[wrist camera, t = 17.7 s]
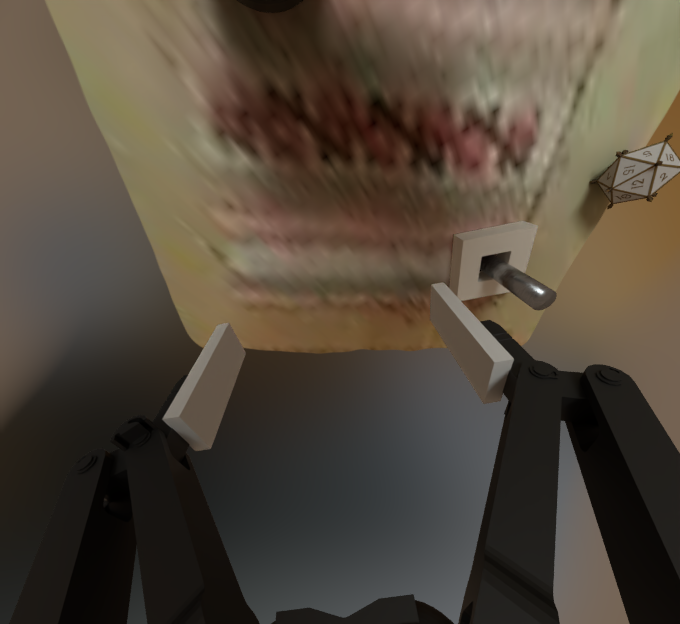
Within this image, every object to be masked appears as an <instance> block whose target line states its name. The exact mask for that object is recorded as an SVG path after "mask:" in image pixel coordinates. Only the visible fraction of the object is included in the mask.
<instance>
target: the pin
mask: <svg viewBox="0 0 680 624" xmlns="http://www.w3.org/2000/svg"><path fill="white" fill-rule="evenodd" d="M480 270H482V271H483V272H484V273H486V274H487V275H488V276H490V277H491V278H493V279H494V280H495V281H497V282H498V283H499V284H501V285H502V286H503V287H505V288H506V289H507V290H509V291H510V292H511V293H513V294H514V295H515V296H517V297H518V298H520V299H521V300H522V301H524V302H525V303H526V304H528V305H529V306H530V307H532V308H533V309H535V310H543V309H545V308H547V307H549V306H550V305H551V304H552V303H553V302H554V301H555V299H556V292H555V291H553V290H552V289H550V288H548V287H547V286H545V285H543V284H542V283H540V282H538V281H536V280H535V279H533V278H531V277H530V276H528V275H526V274H525V273H523V272H521V271H520V270H518V269H516V268H515V267H513V266H511V265H510V264H508V263H506V262H505V261H503V260H501V259H500V258H498V257H496V256H495V255H493V254H492V255H487V256H482V258H481V265H480Z"/></svg>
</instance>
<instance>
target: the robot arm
mask: <svg viewBox="0 0 680 624" xmlns="http://www.w3.org/2000/svg"><path fill="white" fill-rule="evenodd" d="M238 1H239V2H241V3H242V4H244V5H246V6H248V7H250V8H252V9H255V10H258V11H262V12H270V13H274V12H281V11H285V10H288V9H290V8H292V7H294V6H296V5H298V4H299V3H300V2H302V1H303V0H238ZM430 321H431V322H432V324H433V325H434V327H435V328H436V330H437V331H438V333H439V335H440V336H441V338H442V339H443V341H444V342H445V344H446V346H447V347H448V349H449V350H450V352H451V353H452V355H453V356H454V358H455V360H456V361H457V363H458V364H459V366H460V368H461V369H462V371H463V372H464V374H465V375H466V377H467V379H468V380H469V382H470V383H471V385H472V386H473V388H474V390H475V391H476V393H477V394H478V396H479V397H480V399H481V400H482V402H483V404H486V403H492V402H497V401H501V398H502V395H503V393H504V395H505V396H506V397H507V398H508V400H509V401H508V405H507V407H506V410H505V413H504V414H505V418H504V423H503V427H502V432H501V437H500V441H499V446H498V450H497V455H496V459H495V464H494V469H493V473H492V478H491V482H490V487H489V492H488V497H487V501H486V505H485V510H484V515H483V519H482V524H481V528H480V534H479V538H478V542H477V547H476V552H475V556H474V561H473V565H472V570H471V574H470V577H469V581H468V584H467V588H466V592H465V596H464V600H463V605H462V609H461V613H460V618H459V623H458V624H560V623H559V616H558V611H557V609H556V606H555V604H554V599H553V579H554V557H555V534H556V513H557V511H556V510H557V490H558V468H559V467H558V466H559V444H560V422H561V421H565V423H566V425H567V429H568V432H569V435H570V438H571V441H572V445H573V448H574V451H575V454H576V457H577V460H578V463H579V466H580V470H581V473H582V476H583V479H584V482H585V485H586V489H587V492H588V495H589V498H590V501H591V504H592V507H593V510H594V514H595V517H596V520H597V523H598V526H599V529H600V532H601V536H602V538H603V542H604V545H605V548H606V551H607V554H608V557H609V561H610V564H611V567H612V570H613V573H614V576H615V579H616V582H617V586H618V589H619V592H620V595H621V598H622V601H623V604H624V607H625V611H626V614H627V617H628V620H629V623H630V624H680V453H679V452H678V450H677V448H676V447H675V445H674V444H673V442H672V441H671V439H670V437H669V436H668V435H667V433H666V431H665V430H664V428H663V426H662V425H661V423H660V421H659V420H658V418H657V417H656V415H655V414H654V412H653V410H652V409H651V407H650V406H649V404H648V402H647V401H646V399H645V398H644V396H643V394H642V393H641V391H640V390H639V388H638V386H637V385H636V383H635V382H634V381H633V380H632V378H631V377H630V376H629V375H627V374H625V373H624V372H622V371H621V370H618V369H616V368H613V367H610V366H606V365H591V366H588V367H587V368H586V370H585V371H584V373H579V372H566V371H558V370H557V369H556V368H555V367H553V366H552V365H550V364H548V363H545V362H542V361H536V360H534V359H533V358H532V357H531V356H530V355H529V354H528V353H527V352H526V351H525V350H524V349H523V348H522V347H521V346H520V345H519V344H518V343H517V342H516V341H515V340H514V339H512V337H511V336H510V335H509V334H508V333H507V332H506V331H505V330H504V329H503V328H502V327H501V326H500V325H498V324H496V323H495V322H493V321H491V320H487V321H481V322H480V321H479V320H478V319H477V318H476V317H475V316H474V315H473V314H472V313H471V312H470V310H469V309H468V308H467V307H466V306H465V305H464V304H463V303H462V302H461V301H460V300H459V298H458V297H457V296H456V295H455V294H454V293H453V292H452V291H451V290H450V289H449V288H448V287H447V285H446V284H445V283H444V282H442V283H436V284H431V303H430ZM245 354H246V352H245V351H244V349H243V347H242V345H241V343H240V342H239V340H238V338H237V336H236V334H235V333H234V331H233V329H232V327H231V325H230V324H229V323H225V324H220V325H217V327H216V329H215V330H214V332H213V334H212V335H211V337H210V339H209V341H208V342H207V344H206V346H205V347H204V349H203V351H202V353H201V354H200V356H199V358H198V359H197V361H196V363H195V364H194V366H193V368H192V369H191V371H190V373H189V375H185V376H183V377H182V378H181V379H180V380H179V381H178V382H177V383H176V385H175V386H174V388H173V390H172V391H171V394H169V396H168V398H167V401H165V402H164V404H163V406H162V407H161V409H160V410H159V413H158V414H157V416H156V417H155V419H154V420H153V422H151V421H150V420H149V419H148V418H147V417H146V416H144V415H138V416H134V417H132V418H130V419H129V420H127V421H126V422H124V423H123V424H122V425H120V426H119V428H118V429H117V430H116V431H115V432H114V434H113V435H112V437H111V442H112V443H113V444H114V445H116V446H117V447H119V449H117V450H115V451H113V452H111V453H109V452H107V451H106V450H104V449H103V448H99V449H95V450H93V451H91V452H89V453H87V454H86V455H84V456H83V457H82V458H81V459H79V460H78V461H77V462H76V463H75V464H74V466H73V467H72V468H71V469H70V471H69V473H68V474H67V477H66V480H65V482H64V485H63V487H62V490H61V492H60V495H59V498H58V500H57V503H56V505H55V508H54V510H53V513H52V515H51V518H50V521H49V523H48V526H47V528H46V531H45V533H44V536H43V538H42V541H41V544H40V546H39V549H38V551H37V554H36V556H35V559H34V562H33V564H32V567H31V569H30V572H29V575H28V577H27V579H26V582H25V585H24V587H23V590H22V592H21V595H20V597H19V600H18V603H17V605H16V608H15V610H14V613H13V615H12V618H11V620H10V623H9V624H127V617H128V608H129V601H130V593H131V585H132V577H133V570H134V561H135V554H136V546H137V549H138V557H139V564H140V571H141V579H142V586H143V594H144V601H145V609H146V615H147V623H148V624H259V621H258V619H257V618H256V616H255V614H254V613H253V611H252V610H251V609H250V608H249V606H248V605H247V603H246V601H245V599H244V597H243V595H242V592H241V589H240V587H239V584H238V581H237V579H236V576H235V574H234V571H233V568H232V566H231V563H230V561H229V558H228V556H227V553H226V550H225V548H224V545H223V543H222V540H221V537H220V535H219V532H218V529H217V527H216V525H215V522H214V519H213V516H212V514H211V512H210V509H209V506H208V504H207V501H206V498H205V496H204V493H203V491H202V488H201V485H200V483H199V480H198V478H197V475H196V472H195V470H194V467H193V465H192V462H191V459H190V457H189V455H188V454H187V453H186V451H187V449H188V447H189V445H190V446H191V447H192V448H193V449H194V450H195V451H199V450H205V449H210V448H211V446H212V443H213V441H214V438H215V435H216V432H217V430H218V427H219V425H220V422H221V419H222V416H223V414H224V411H225V408H226V405H227V403H228V400H229V397H230V395H231V392H232V389H233V386H234V384H235V381H236V378H237V376H238V373H239V370H240V367H241V364H242V362H243V359H244V357H245ZM272 624H454V623H453V622H452V621H451V620H449V619H448V618H447V617H446V616H445V615H444V614H442V613H441V612H439V611H438V610H437V609H435V608H434V607H432V606H430V605H428V604H426V603H423V602H420V601H416V600H415V599H414V595H413V594H412V595H404V596H397V597H389V598H381V599H378V600H376V601H374V602H373V603H371V604H369V605H368V606H366V607H364V608H362V609H361V610H359V611H357V612H355V613H354V614H352V615H350V616H348V617H346V618H342V617H338V616H335V615H331V614H328V613H325V612H322V611H319V610H315V609H312V608H303V609H296V610H288V611H280V612H277V613H276V621H274V622H273V623H272Z"/></svg>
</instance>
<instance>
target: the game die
mask: <svg viewBox="0 0 680 624" xmlns="http://www.w3.org/2000/svg"><path fill="white" fill-rule="evenodd" d="M672 135H673V133H672V134H670V135H668V136H667V138H665V140H664V141H663V142H659V143H656V144H653V145H650V146H647V147H644V148H641V149H638V150H635V151H632V152H629V153H628V150H624V151H623V152H622V153H621V152H617V153H616V156H617V157H618V158H617V159H616V160H615V162H614V163H613V164H612V165H611V166H610V167H609V168H608V169H607V170H606V171H605V172H604V173H603V174H602V175H601V176H600V177H599V179H598V180H592V181H590V183H595V182H597V183H598V184H599V186H600V187H601V189H602V190H603V192H604V193H605V195H606V196H607V198H608V199H609V201H610V202H611V204H610V205H609V206H608V209H609V208H612V206H613V204H616V203H621V202H627V201H633V200H638V199H643V198H647V201H650V202H652V200H653V198H652V197H651V196H653V197H656V195H657V193H656V192H657V191H658V190H659V189H660V188H662V187H663V186H664V185H665V184H666V183H668V182H669V181H670V180H671V179H672V178H674V177H675V176H676V175H678V174H679V173H680V159H679V157H678V156H677V155H676V153H675V152H674V150H673V149H672V148H671V146H670V145H669V143H668V142H667V141H668V140H669V139H670V138H671V137H672ZM622 154H623V155H622Z"/></svg>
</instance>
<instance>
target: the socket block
mask: <svg viewBox="0 0 680 624" xmlns="http://www.w3.org/2000/svg"><path fill="white" fill-rule="evenodd" d="M537 228H538V226H537V225H534V224H531V223H528V222H525V221H519V222H514V223H509V224H504V225H499V226H494V227H489V228H484V229H479V230H474V231H469V232H464V233H459V234H454V236H453V248H452V260H451V272H450V284H449V289H450V290H451V291H452V292H453V293H454V294H455V295H456V296H457V297H458V298H459V300H460V301H464V300H470V299H475V298H480V297H486V296H491V295H496V294H502V293H507V292H510V291H509V290H507V289H506V288H505V287H503V286H502V285H501V284H499V283H498V282H497V281H495V280H494V279H493V278H491V277H490V276H488V275H487V274H486V273H484V272H483V271H482V272H479V271H480V265H481V258H482V256H487V255H492V254H497V256H496V257H498V258H500V259H501V260H503V261H505V262H506V263H508V264H510V265H511V266H513V267H515V268H516V269H518V270H520V271H521V272H523V273H525V272H526V268H527V264H528V261H529V257H530V254H531V250H532V246H533V243H534V239H535V235H536V232H537Z"/></svg>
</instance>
